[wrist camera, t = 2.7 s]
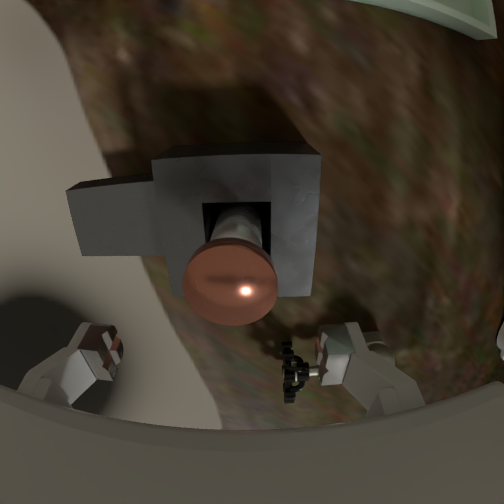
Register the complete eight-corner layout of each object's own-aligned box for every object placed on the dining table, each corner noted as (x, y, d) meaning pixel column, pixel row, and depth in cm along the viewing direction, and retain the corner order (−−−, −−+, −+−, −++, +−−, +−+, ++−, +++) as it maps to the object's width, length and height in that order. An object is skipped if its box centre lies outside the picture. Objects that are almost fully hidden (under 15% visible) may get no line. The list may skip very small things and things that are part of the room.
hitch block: (307, 142, 20) (321, 155, 16) (301, 260, 25) (310, 296, 21) (76, 160, 21) (42, 176, 17) (99, 261, 26) (75, 292, 21)
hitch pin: (269, 178, 22) (279, 247, 12) (269, 231, 24) (276, 325, 14) (211, 179, 22) (175, 248, 12) (215, 231, 24) (189, 324, 15)
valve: (390, 317, 29) (281, 328, 29) (411, 362, 23) (285, 380, 24) (378, 357, 32) (281, 368, 33) (393, 400, 26) (284, 415, 27)
